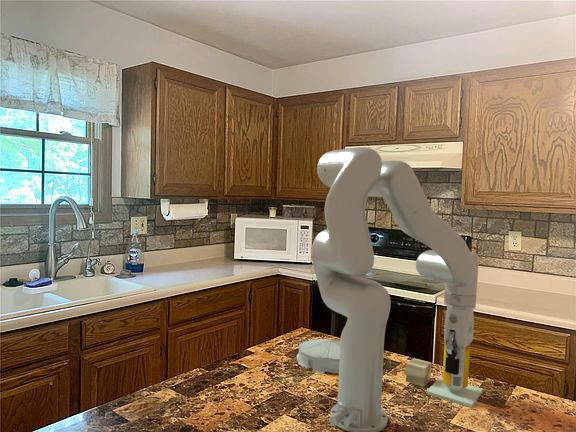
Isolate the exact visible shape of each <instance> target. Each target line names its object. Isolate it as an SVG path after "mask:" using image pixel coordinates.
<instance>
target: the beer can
mask: <svg viewBox="0 0 576 432" xmlns="http://www.w3.org/2000/svg"><path fill="white" fill-rule="evenodd" d="M447 341H448V340H447ZM470 341H471V334H470V333H469V336H468V346H467V347H466V348H464V349H461V347H460V350H459V356H458V359H460V361H459V374H458V375H454V374H451V373H447V372H445V362H446V344H445V343H444V344H443V345H444V346H443V364H442V382H443V383H444V385H445V386H446V387H447V388H449V389H452V390H457V391H461V390H464V389H465V388H466V387H467V386H468V385H469V372H470V369H469V368H470V354H471V343H470ZM453 345H455V346H457V343H454V344H453ZM453 350H455V353H456V348H453Z"/></svg>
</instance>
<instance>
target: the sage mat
mask: <svg viewBox="0 0 576 432" xmlns="http://www.w3.org/2000/svg"><path fill="white" fill-rule="evenodd" d="M442 378H443V376H440V377H438V379H437V380H436V381H434V382H433V384H432V385H431V386H430V387H429V388H428V389H427V390H426V393H425V394H426V395H428V396H432V397H435V398H439V399H442V400H445V401H448V402H451V403H454V404H456V405H457V404H458V405H460V406H464V407H467V408H471V409H472V408H473V407H474V405H475V404H476V403H477V401H478V400H479V398H480V397H481V395H482V394H483V392H484V388H482V387H478V386H474V385H470V384H468V386H467V387H466V388H465V389H464V390H461V391H457V390H452V389H449V388H447V387H446V386H445V385H444V383H443V382H442Z"/></svg>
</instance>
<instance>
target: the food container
mask: <svg viewBox="0 0 576 432" xmlns="http://www.w3.org/2000/svg"><path fill="white" fill-rule="evenodd" d="M296 360H297V362H298V364H299V365H300V366H301V367H302V368H304V367H305V368H304V369H307V370H308V369H309V368H310V369H312V371H313V372H314V373H318V374H326V373H325V372H327V373H331V374H338V375H339V361H340V340H336V339H328V338H326V339H325V338H317V339H310V340H304V341H301V342H300V344H299V345H298V353H297V354H296ZM310 369H309V370H310Z"/></svg>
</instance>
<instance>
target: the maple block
mask: <svg viewBox="0 0 576 432" xmlns="http://www.w3.org/2000/svg"><path fill="white" fill-rule="evenodd" d="M431 371H432V362H430V361H427V360H426V361H425V360H422V359H418V358H415V357H413V358H412V359H411V360H409V361H408V362H407V363H406V370H405V382H408V383H411V384H415V385H416V386H417V385H418V386H421V387H425V386H426V385H428V383H429V382H430V381H431V376H432V375H431V373H432V372H431Z"/></svg>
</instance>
